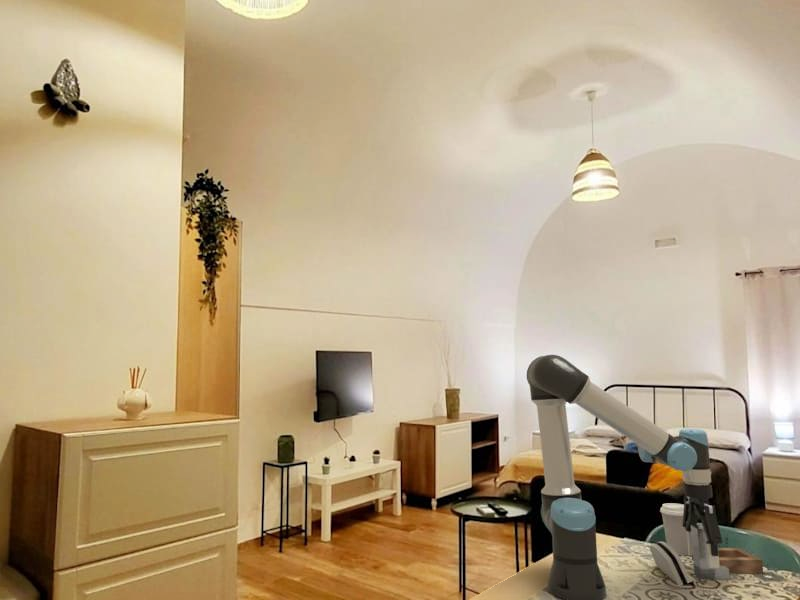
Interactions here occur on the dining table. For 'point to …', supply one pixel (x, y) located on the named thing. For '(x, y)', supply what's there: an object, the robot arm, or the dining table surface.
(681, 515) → the coffee cup
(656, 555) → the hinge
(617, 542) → the dining table surface
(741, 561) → the frame
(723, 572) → the bracket
